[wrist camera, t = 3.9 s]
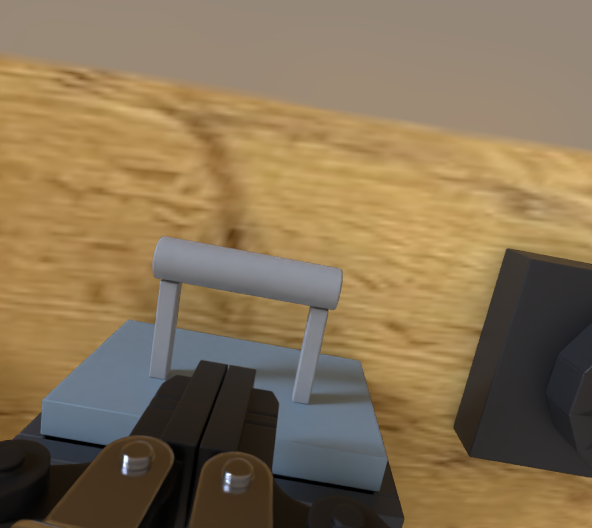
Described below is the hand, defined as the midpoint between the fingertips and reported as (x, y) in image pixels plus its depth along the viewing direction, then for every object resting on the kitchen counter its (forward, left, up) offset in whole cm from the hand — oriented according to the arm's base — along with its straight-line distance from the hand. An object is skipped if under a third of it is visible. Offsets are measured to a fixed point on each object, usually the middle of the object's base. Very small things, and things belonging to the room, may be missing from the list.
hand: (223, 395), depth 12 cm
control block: (+16, 0, -9) cm, 18 cm away
